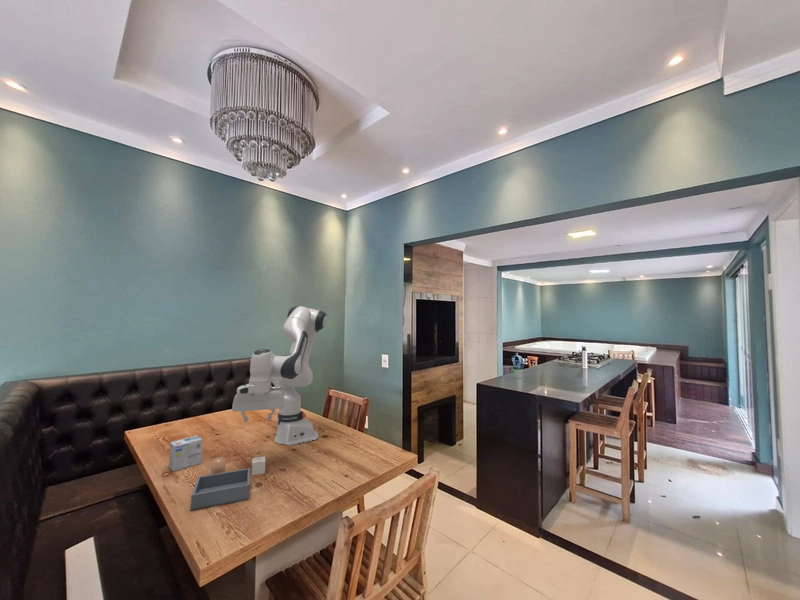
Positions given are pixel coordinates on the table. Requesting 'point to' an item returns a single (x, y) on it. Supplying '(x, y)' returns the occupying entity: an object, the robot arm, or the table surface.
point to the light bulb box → (185, 453)
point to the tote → (220, 489)
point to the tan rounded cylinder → (218, 465)
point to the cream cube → (258, 465)
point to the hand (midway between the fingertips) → (257, 420)
